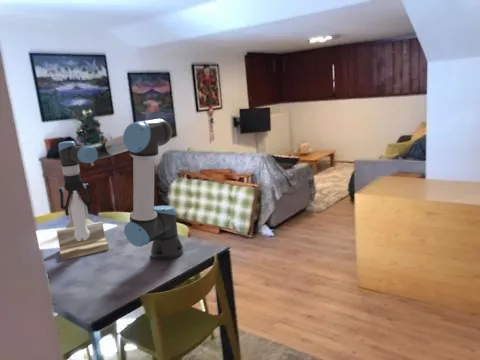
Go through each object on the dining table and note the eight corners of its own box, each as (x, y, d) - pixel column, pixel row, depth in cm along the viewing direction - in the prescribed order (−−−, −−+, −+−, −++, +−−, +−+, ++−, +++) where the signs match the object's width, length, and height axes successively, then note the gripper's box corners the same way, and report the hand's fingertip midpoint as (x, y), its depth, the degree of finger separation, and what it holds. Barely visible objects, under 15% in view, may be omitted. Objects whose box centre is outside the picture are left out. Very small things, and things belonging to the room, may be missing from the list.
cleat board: (108, 249, 205) (105, 228, 202) (61, 260, 196) (57, 238, 193) (105, 241, 217) (102, 221, 215) (60, 250, 208) (56, 230, 206)
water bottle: (74, 242, 198) (65, 192, 192) (75, 237, 204) (67, 189, 199) (89, 240, 199) (81, 190, 194) (90, 235, 206) (83, 187, 200)
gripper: (92, 169, 202) (99, 213, 207) (48, 176, 193) (56, 222, 199) (94, 172, 195) (101, 217, 200) (48, 178, 187) (57, 226, 192)
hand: (79, 219), depth 199 cm, fingers closed on water bottle, 7 cm apart
